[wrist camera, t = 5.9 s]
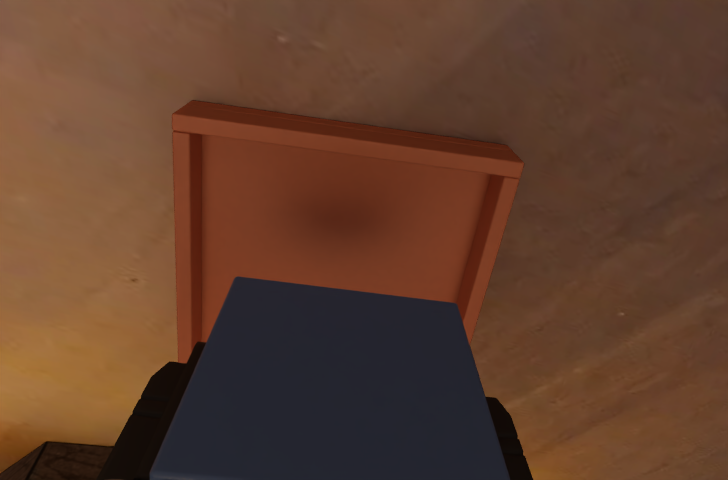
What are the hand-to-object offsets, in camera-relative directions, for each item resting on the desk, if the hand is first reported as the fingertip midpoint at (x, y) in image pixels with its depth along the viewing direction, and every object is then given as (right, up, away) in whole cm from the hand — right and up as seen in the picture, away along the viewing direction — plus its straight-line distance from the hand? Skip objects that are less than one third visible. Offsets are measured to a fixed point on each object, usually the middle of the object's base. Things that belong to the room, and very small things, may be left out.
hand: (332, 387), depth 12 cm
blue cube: (0, 0, 0) cm, 0 cm away
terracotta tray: (-1, +2, +10) cm, 11 cm away
